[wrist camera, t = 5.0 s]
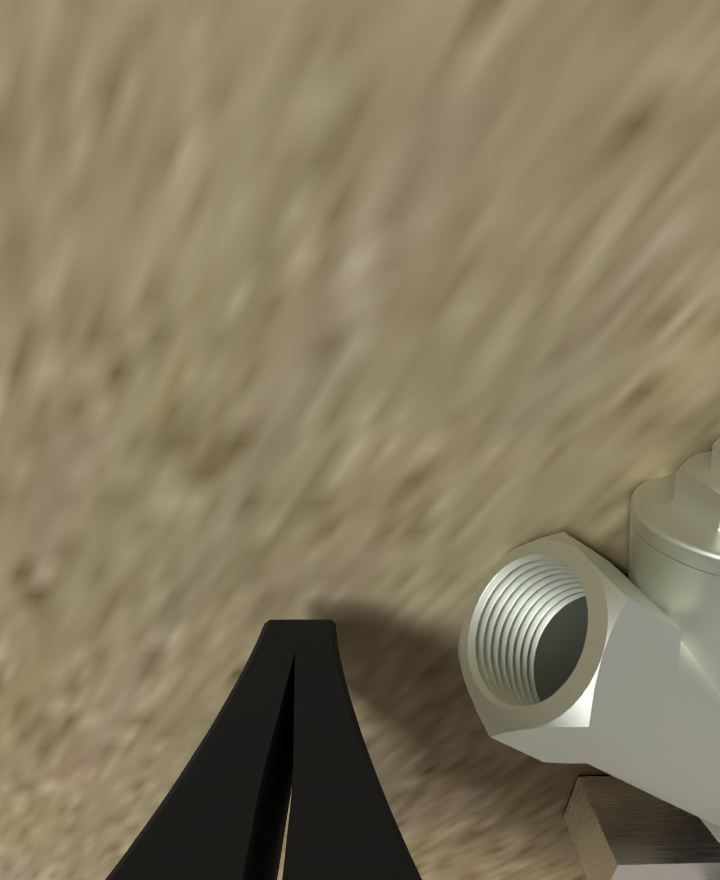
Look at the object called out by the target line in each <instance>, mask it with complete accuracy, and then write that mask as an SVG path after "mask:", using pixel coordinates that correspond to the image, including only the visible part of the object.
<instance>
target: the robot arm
mask: <svg viewBox="0 0 720 880" xmlns="http://www.w3.org/2000/svg"><path fill="white" fill-rule="evenodd" d="M291 788H292V796H291V806H290V815H289V824H288V833H287V842H286V851H285V860H284V869H283V878H282V880H422V879H421V877H420V875H419V872H418V870H417V868H416V866H415V864H414V862H413V860H412V858H411V855H410V853H409V851H408V849H407V846H406V844H405V842H404V840H403V837H402V835H401V833H400V831H399V828H398V826H397V824H396V821H395V819H394V817H393V814H392V812H391V810H390V807H389V805H388V802H387V800H386V798H385V795H384V793H383V790H382V788H381V785H380V783H379V780H378V777H377V775H376V772H375V769H374V767H373V764H372V761H371V759H370V756H369V753H368V751H367V748H366V745H365V742H364V739H363V736H362V734H361V731H360V727H359V724H358V721H357V718H356V715H355V712H354V708H353V705H352V702H351V699H350V696H349V692H348V688H347V685H346V681H345V677H344V673H343V669H342V664H341V660H340V655H339V649H338V643H337V635H336V624H335V623H334V622H333V621H332V620H269V621H268V622H266V623H265V624H264V626H263V629H262V631H261V634H260V636H259V638H258V640H257V643H256V645H255V647H254V649H253V651H252V653H251V655H250V657H249V659H248V661H247V663H246V665H245V667H244V669H243V671H242V673H241V675H240V677H239V679H238V680H237V682H236V684H235V686H234V688H233V690H232V691H231V693H230V695H229V696H228V698H227V700H226V702H225V703H224V705H223V707H222V709H221V710H220V712H219V714H218V716H217V717H216V719H215V721H214V723H213V724H212V726H211V728H210V729H209V731H208V732H207V734H206V736H205V737H204V739H203V740H202V742H201V743H200V745H199V747H198V748H197V750H196V751H195V753H194V754H193V756H192V758H191V759H190V761H189V762H188V764H187V765H186V767H185V768H184V770H183V772H182V773H181V775H180V776H179V778H178V779H177V781H176V782H175V784H174V785H173V787H172V788H171V790H170V791H169V793H168V794H167V796H166V797H165V799H164V800H163V801H162V803H161V804H160V806H159V807H158V809H157V810H156V812H155V813H154V814H153V816H152V817H151V819H150V820H149V821H148V823H147V824H146V826H145V827H144V828H143V830H142V831H141V832H140V834H139V835H138V837H137V838H136V839H135V841H134V842H133V844H132V845H131V846H130V848H129V849H128V850H127V852H126V853H125V854H124V856H123V857H122V859H121V860H120V861H119V863H118V864H117V865H116V866H115V868H114V869H113V870H112V872H111V873H110V874H109V876H108V877H107V878H106V879H105V880H277V876H278V870H279V864H280V857H281V851H282V845H283V838H284V832H285V826H286V819H287V813H288V807H289V801H290V794H291Z"/></svg>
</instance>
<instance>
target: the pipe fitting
mask: <svg viewBox="0 0 720 880" xmlns="http://www.w3.org/2000/svg"><path fill="white" fill-rule="evenodd" d="M457 650H458V657H459V662H460V667H461V671H462V674H463V677H464V681H465V684H466V687H467V689H468V692H469V694H470V697H471V699H472V702H473V704H474V706H475V709H476V711H477V713H478V715H479V717H480V719H481V721H482V723H483V725H484V727H485V729H486V731H487V733H488V735H489V737H491V738H493V739H495V740H497V741H499V742H501V743H504V744H506V745H508V746H510V747H512V748H514V749H516V750H519V751H521V752H523V753H525V754H527V755H529V756H531V757H534V758H536V759H538V760H540V761H542V762H548V763H587V764H589V765H591V766H593V767H595V768H597V769H600V770H602V771H604V772H606V773H608V774H610V775H612V776H614V777H616V778H618V779H620V780H622V781H624V782H626V783H628V784H630V785H633V786H635V787H637V788H639V789H641V790H643V791H645V792H647V793H649V794H651V795H653V796H655V797H657V798H659V799H661V800H664V801H666V802H668V803H670V804H672V805H674V806H676V807H678V808H680V809H682V810H685V811H687V812H689V813H691V814H693V815H695V816H697V817H699V818H700V819H701V821H702V822H703V823H704V824H705V826H706V827H707V828H708V829H709V831H710V832H711V833H712V835H713V836H714V837H715V838H716V840H717V841H718V842H719V843H720V437H719V438H718V439H717V440H716V441H715V442H714V444H713V448H712V451H709V452H703V453H699V454H696V455H694V456H692V457H690V458H689V459H688V460H687V461H686V462H684V463H683V464H682V465H681V467H680V468H679V469H678V470H677V471H676V474H674V475H668V476H662V477H656V478H651V479H648V480H646V481H645V482H643V483H642V484H640V485H639V486H638V487H637V488H636V489H635V491H634V492H633V494H632V497H631V503H630V537H629V572H628V578H627V577H626V576H625V575H624V574H623V573H621V572H620V571H619V570H618V569H617V568H616V567H615V566H614V565H613V564H612V563H610V562H609V561H608V560H606V559H605V558H603V557H602V556H600V555H599V554H597V553H596V552H594V551H593V550H591V549H590V548H588V547H587V546H585V545H583V544H582V543H580V542H579V541H577V540H576V539H574V538H573V537H571V536H570V535H568V534H567V533H565V532H560V533H557V534H553V535H549V536H546V537H542V538H539V539H537V540H534V541H531V542H529V543H526V544H524V545H521V546H519V547H517V548H515V549H513V550H512V551H510V552H508V553H506V554H505V555H503V556H502V557H501V558H500V559H499V560H498V561H497V562H496V563H495V564H494V565H493V566H492V567H491V568H490V569H489V571H488V572H487V573H486V574H485V575H484V577H483V578H482V580H481V581H480V583H479V585H478V587H477V589H476V591H475V593H474V595H473V597H472V599H471V601H470V604H469V606H468V609H467V612H466V615H465V618H464V622H463V625H462V629H461V634H460V639H459V644H458V649H457Z"/></svg>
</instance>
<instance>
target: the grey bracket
mask: <svg viewBox="0 0 720 880" xmlns="http://www.w3.org/2000/svg"><path fill="white" fill-rule="evenodd" d="M563 819H564V821H565V824H566V826H567V829H568V832H569V834H570V837H571V839H572V842H573V844H574V847H575V850H576V852H577V855H578V857H579V860H580V862H581V865H582V868H583V870H584V873H585V875H586V878H587V880H720V843H719V842H718V841H717V840H716V838H715V837H714V836H713V835H712V833H711V832H710V831H709V829H708V828H707V827H706V826H705V824H704V823H703V822H702V821H701V819H700V818H699V817H697V816H695V815H693V814H691V813H689V812H687V811H685V810H682V809H680V808H678V807H676V806H674V805H672V804H670V803H668V802H666V801H664V800H661V799H659V798H657V797H655V796H653V795H651V794H649V793H647V792H645V791H643V790H641V789H639V788H637V787H635V786H633V785H630V784H628V783H626V782H624V781H622V780H620V779H618V778H616V777H614V776H586V777H578V778H577V781H576V784H575V787H574V789H573V792H572V795H571V798H570V800H569V803H568V806H567V809H566V811H565V814H564V817H563Z"/></svg>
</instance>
